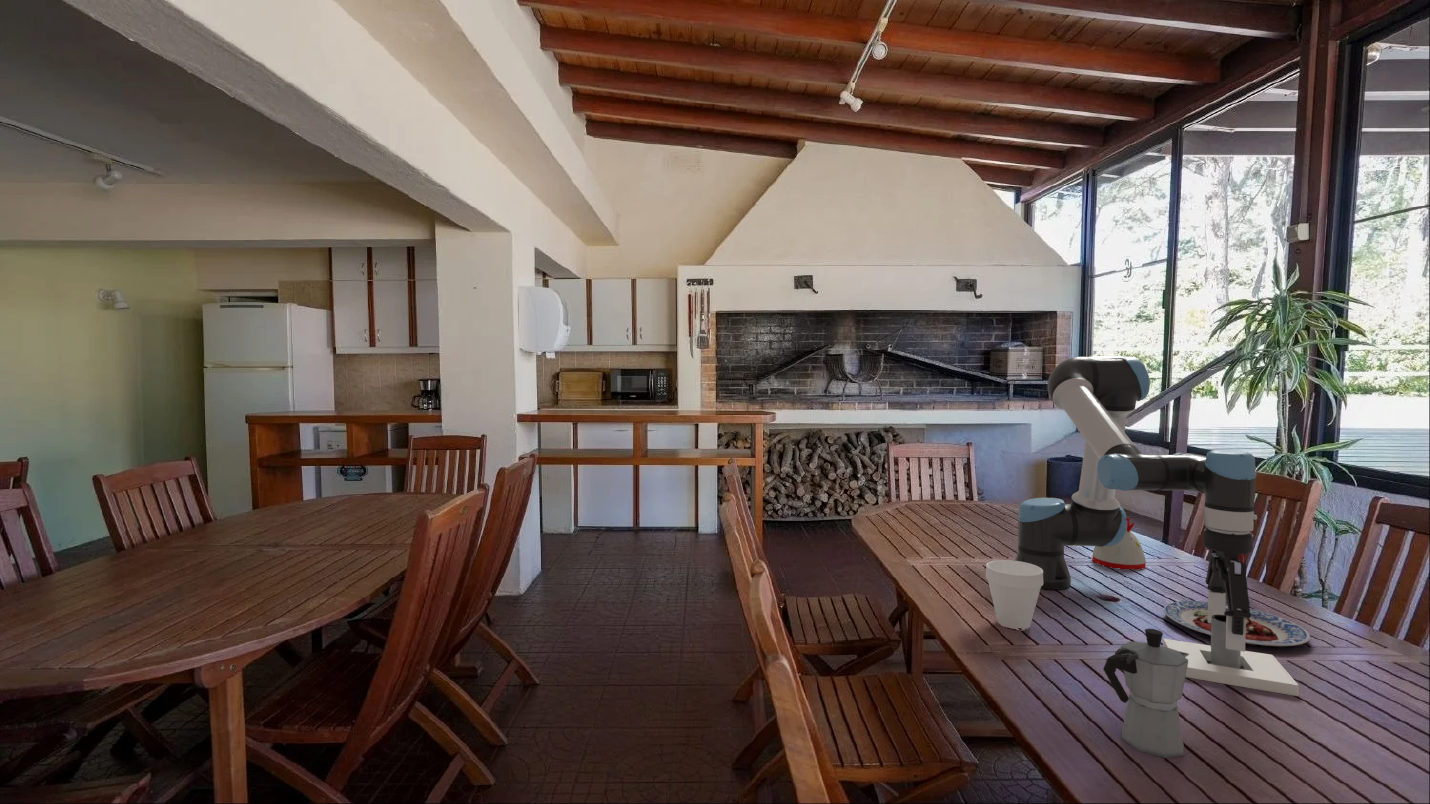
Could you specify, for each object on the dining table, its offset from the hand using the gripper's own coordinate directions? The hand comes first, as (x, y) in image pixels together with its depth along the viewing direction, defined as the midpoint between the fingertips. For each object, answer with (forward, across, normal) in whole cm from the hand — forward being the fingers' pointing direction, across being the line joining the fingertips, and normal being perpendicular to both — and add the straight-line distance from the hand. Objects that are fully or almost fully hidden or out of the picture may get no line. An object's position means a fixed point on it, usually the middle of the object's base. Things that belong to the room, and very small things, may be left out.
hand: (1225, 636), depth 123 cm
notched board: (+7, 0, 0) cm, 7 cm away
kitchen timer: (+8, +75, +10) cm, 76 cm away
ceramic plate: (+7, +26, -7) cm, 28 cm away
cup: (+7, +7, +38) cm, 39 cm away
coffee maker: (+7, -37, +18) cm, 41 cm away
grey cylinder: (+7, 0, 0) cm, 7 cm away
